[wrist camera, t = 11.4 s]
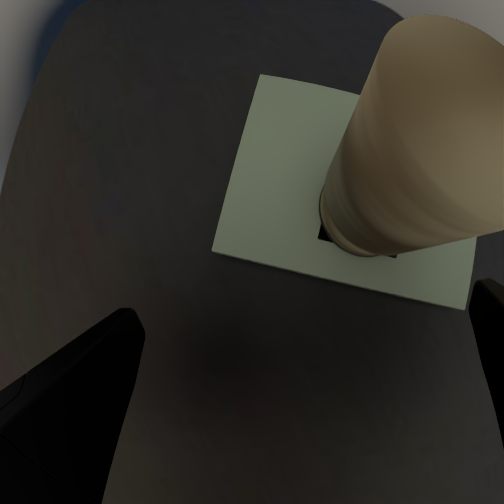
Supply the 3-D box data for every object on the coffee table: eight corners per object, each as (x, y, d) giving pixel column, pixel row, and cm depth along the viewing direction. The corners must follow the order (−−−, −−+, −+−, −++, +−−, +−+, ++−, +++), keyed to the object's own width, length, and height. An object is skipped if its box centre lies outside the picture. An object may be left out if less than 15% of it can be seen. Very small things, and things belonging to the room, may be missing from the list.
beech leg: (410, 235, 20) (584, 170, 5) (339, 278, 20) (475, 276, 5) (367, 161, 21) (474, 6, 6) (295, 199, 21) (325, 39, 6)
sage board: (446, 307, 19) (464, 310, 17) (219, 254, 21) (211, 250, 18) (464, 151, 20) (480, 139, 18) (262, 93, 22) (260, 74, 19)
